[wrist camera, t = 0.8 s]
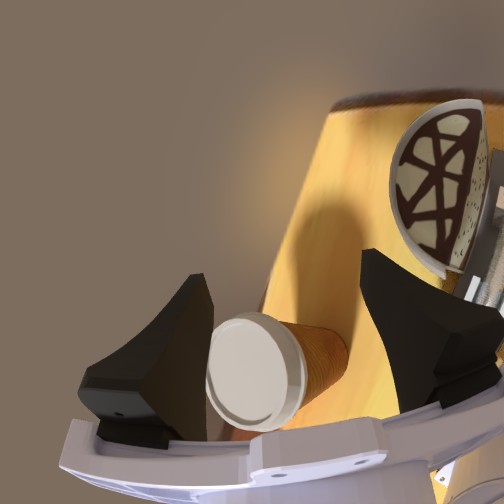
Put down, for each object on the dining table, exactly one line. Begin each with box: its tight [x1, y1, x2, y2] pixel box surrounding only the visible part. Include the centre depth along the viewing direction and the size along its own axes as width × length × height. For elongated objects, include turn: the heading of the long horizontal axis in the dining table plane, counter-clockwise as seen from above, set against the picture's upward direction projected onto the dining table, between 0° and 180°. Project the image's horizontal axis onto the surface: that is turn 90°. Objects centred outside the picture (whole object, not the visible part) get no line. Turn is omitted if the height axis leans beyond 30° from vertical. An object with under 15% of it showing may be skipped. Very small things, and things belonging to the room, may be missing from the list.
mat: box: [452, 148, 504, 352], centre depth 17 cm, size 7×21×1 cm, turn 150°
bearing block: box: [464, 276, 504, 318], centre depth 16 cm, size 4×4×6 cm
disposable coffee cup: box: [206, 312, 348, 432], centre depth 24 cm, size 10×10×12 cm
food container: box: [389, 99, 491, 280], centre depth 18 cm, size 12×6×10 cm, turn 151°
